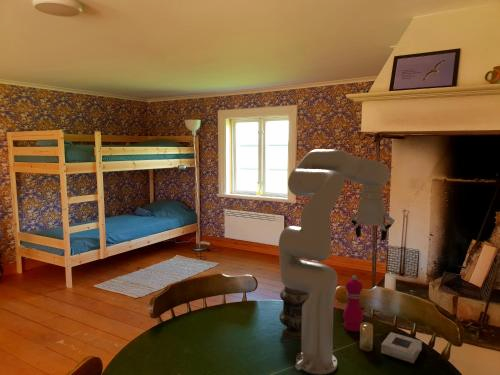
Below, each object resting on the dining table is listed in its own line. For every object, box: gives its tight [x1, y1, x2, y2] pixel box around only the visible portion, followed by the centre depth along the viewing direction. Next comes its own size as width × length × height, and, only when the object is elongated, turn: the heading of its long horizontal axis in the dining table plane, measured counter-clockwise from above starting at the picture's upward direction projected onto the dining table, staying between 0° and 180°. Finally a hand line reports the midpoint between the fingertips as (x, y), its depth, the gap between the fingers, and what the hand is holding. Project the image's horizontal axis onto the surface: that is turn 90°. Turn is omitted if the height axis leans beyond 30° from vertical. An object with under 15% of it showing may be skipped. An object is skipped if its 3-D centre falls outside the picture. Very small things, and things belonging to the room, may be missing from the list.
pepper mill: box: [342, 274, 364, 332], centre depth 137 cm, size 7×7×20 cm
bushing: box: [359, 321, 374, 352], centre depth 124 cm, size 4×4×8 cm
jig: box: [380, 331, 423, 364], centre depth 122 cm, size 10×10×3 cm
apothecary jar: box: [279, 285, 309, 340], centre depth 134 cm, size 12×12×18 cm
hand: (370, 238), depth 147 cm, fingers open, 9 cm apart
